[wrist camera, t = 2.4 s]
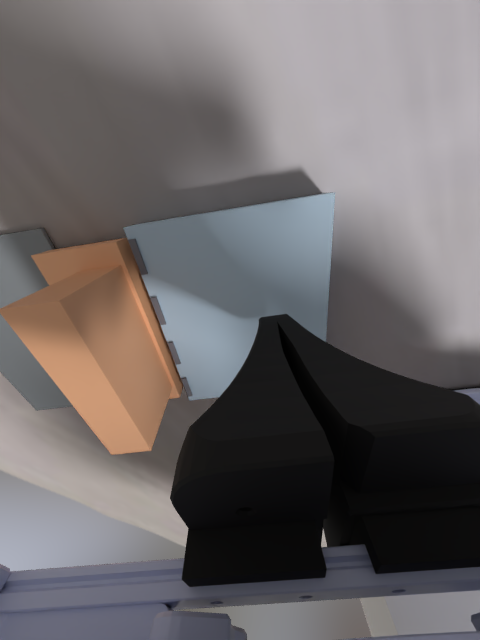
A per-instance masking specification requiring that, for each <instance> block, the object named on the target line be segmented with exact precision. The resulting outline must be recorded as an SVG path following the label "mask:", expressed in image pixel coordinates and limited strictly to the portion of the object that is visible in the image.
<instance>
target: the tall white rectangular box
mask: <svg viewBox="0 0 480 640" xmlns="http://www.w3.org/2000/svg"><path fill="white" fill-rule="evenodd" d="M360 600H361V604H362V607H363V610H364V613H365V616H366V620H367V623H368V626H369V629H370V633H371V636H372V637H380V636H394V635H410V634H428V633H447V632H467V631H476V629H475V627H474V626H473V624H472V622H471V615H473V614H476V613H480V590H477V591H462V592H446V593H430V594H415V595H399V596H383V597H368V598H360Z"/></svg>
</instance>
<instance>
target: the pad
mask: <svg viewBox="0 0 480 640" xmlns="http://www.w3.org/2000/svg"><path fill="white" fill-rule="evenodd" d="M54 249H55V248H54V246H53V244H52V242H51V240H50V239H49V237H48V235H47V233H46V231H45V230H44V228H40V229H34V230H28V231H22V232H16V233H10V234H4V235H0V308H3V307H5V306H7V305H9V304H11V303H13V302H15V301H18V300H20V299H22V298H24V297H26V296H28V295H30V294H33V293H35V292H37V291H39V290H41V289H43V288H45V287H47V286H49V284H48V283H47V281H46V280H45V278H44V276H43V275H42V273H41V271H40V270H39V268H38V267H37V265H36V263H35V262H34V260H33V258H32V257H31V255H35V254H38V253H42V252H46V251H49V250H54ZM0 372H1V373H2V374H3V375H4V376H5V377H6V378H7V379H8V381H9V382H10V383H11V384H12V385H13V386H14V387H15V388H16V389H17V390H18V391H19V392H20V393H21V395H22V396H23V397H24V398H25V399H26V400H27V401H28V402H29V403H30V404H31V405H32V406H33V407H34V409H35V410H45V409H53V408H62V407H70V406H73V405H72V404H71V403H70V401H69V400H68V399H67V398H66V396H65V395H64V394H63V392H62V391H61V390H60V389H59V387H58V386H57V385H56V384H55V382H54V381H53V380H52V378H51V377H50V376H49V375H48V373H47V372H46V371H45V370H44V368H43V367H42V366H41V365H40V363H39V362H38V361H37V359H36V358H35V357H34V356H33V354H32V353H31V352H30V351H29V349H28V348H27V347H26V345H25V344H24V343H23V342H22V340H21V339H20V338H19V337H18V335H17V334H16V333H15V332H14V330H13V329H12V328H11V326H10V325H9V324H8V323H7V321H6V320H5V319H4V318H3V316H2V315H1V314H0Z"/></svg>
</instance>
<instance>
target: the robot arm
mask: <svg viewBox="0 0 480 640" xmlns="http://www.w3.org/2000/svg"><path fill="white" fill-rule="evenodd" d="M170 499H171V501H172V504H173V506H174V508H175V509H176V511H177V512H178V514H179V515H180V517H181V518H182V520H183V521H184V522H185V524H186V525H187V527H188V528H189V529H188V537H187V544H186V551H185V558H180V559H167V560H154V561H141V562H128V563H115V564H102V565H89V566H76V567H64V568H50V569H37V570H26V571H25V570H24V571H12V572H10V569H9V568H7V567H5V566H3V565H1V564H0V640H247V634H246V632H245V630H244V629H242V628H239V627H236V626H233V625H231V619H230V618H229V616H228V615H227V614H221V613H220V614H219V613H204V612H190V611H174V610H178V609H179V610H180V609H194V608H210V607H226V606H241V605H258V604H273V603H288V602H304V601H319V600H320V601H321V600H336V599H352V598H368V597H383V596H399V595H415V594H430V593H446V592H462V591H477V590H480V388H472V389H463V390H454V391H452V390H448V389H444V388H441V387H437V386H434V385H430V384H426V383H423V382H419V381H416V380H413V379H410V378H407V377H404V376H401V375H398V374H395V373H392V372H389V371H386V370H384V369H381V368H378V367H376V366H374V365H371V364H369V363H366V362H364V361H361V360H359V359H357V358H355V357H353V356H350V355H348V354H347V353H345V352H343V351H341V350H339V349H337V348H335V347H333V346H331V345H330V344H328V343H326V342H325V341H323V340H322V339H320V338H318V337H317V336H315V335H314V334H312V333H311V332H310V331H308V330H307V329H305V328H304V327H303V326H302V325H300V324H299V323H298V322H296V321H295V320H294V319H293V318H291V317H290V316H289V315H288V314H281V315H274V316H266V317H261V318H260V319H259V326H258V330H257V334H256V337H255V340H254V343H253V345H252V348H251V350H250V352H249V354H248V356H247V358H246V360H245V362H244V364H243V366H242V367H241V369H240V370H239V372H238V373H237V375H236V376H235V378H234V379H233V381H232V382H231V384H230V385H229V386H228V387H227V389H226V390H225V391H224V392H223V393H222V394H221V396H220V397H219V398H218V399H217V400H216V402H215V403H214V404H213V405H212V406H211V407H210V408H209V409H208V410H207V411H206V412H205V413H204V414H203V415H202V416H201V417H200V418H199V419H198V420H197V421H196V422H195V423H194V424H192V425H191V426H190V427H189V430H188V432H187V435H186V438H185V440H184V443H183V446H182V449H181V452H180V455H179V458H178V462H177V466H176V471H175V476H174V481H173V486H172V491H171V496H170ZM323 529H324V533H325V538H326V542H327V547H323V548H321V540H322V531H323ZM471 622H472V624H473V626H474V627H475V629H476V631H467V632H447V633H428V634H410V635H394V636H380V637H368V638H367V637H366V638H353V639H341V640H480V613H476V614H473V615H471Z"/></svg>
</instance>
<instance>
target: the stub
mask: <svg viewBox="0 0 480 640" xmlns="http://www.w3.org/2000/svg"><path fill="white" fill-rule="evenodd" d="M31 257H32V258H33V260H34V262H35V263H36V265H37V267H38V268H39V270H40V271H41V273H42V275H43V276H44V278H45V280H46V281H47V283H48V284H49V286H47V287H45V288H43V289H41V290H39V291H37V292H35V293H33V294H30V295H28V296H26V297H24V298H22V299H20V300H18V301H15V302H13V303H11V304H9V305H7V306H5V307H3V308H0V314H1V315H2V316H3V318H4V319H5V320H6V321H7V323H8V324H9V325H10V326H11V328H12V329H13V330H14V332H15V333H16V334H17V335H18V337H19V338H20V339H21V340H22V342H23V343H24V344H25V345H26V347H27V348H28V349H29V351H30V352H31V353H32V354H33V356H34V357H35V358H36V359H37V361H38V362H39V363H40V365H41V366H42V367H43V368H44V370H45V371H46V372H47V373H48V375H49V376H50V377H51V378H52V380H53V381H54V382H55V384H56V385H57V386H58V387H59V389H60V390H61V391H62V392H63V394H64V395H65V396H66V398H67V399H68V400H69V401H70V403H71V404H72V405H73V406H74V408H75V409H76V410H77V411H78V413H79V414H80V415H81V417H82V418H83V419H84V420H85V422H86V423H87V424H88V425H89V427H90V428H91V429H92V431H93V432H94V433H95V434H96V436H97V437H98V438H99V439H100V441H101V442H102V443H103V444H104V446H105V447H106V448H107V450H108V451H109V452H110V453H111V455H114V454H124V453H134V452H143V451H151V450H152V447H153V444H154V441H155V438H156V435H157V432H158V429H159V426H160V423H161V420H162V417H163V414H164V411H165V408H166V405H167V402H168V399H172V398H180V395H181V392H182V388H183V383H182V380H181V377H180V375H179V372H178V369H177V367H176V364H175V362H174V359H173V356H172V354H171V351H170V349H169V346H168V343H167V341H166V338H165V336H164V333H163V330H162V328H161V325H160V323H159V320H158V317H157V315H156V312H155V309H154V307H153V304H152V302H151V299H150V296H149V294H148V291H147V289H146V286H145V283H144V281H143V278H142V276H141V273H140V270H139V268H138V265H137V263H136V260H135V257H134V255H133V252H132V249H131V247H130V244H129V242H128V239H127V238H122V239H116V240H110V241H103V242H97V243H91V244H85V245H79V246H73V247H66V248H60V249H54V250H49V251H46V252H42V253H38V254H35V255H31Z"/></svg>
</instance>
